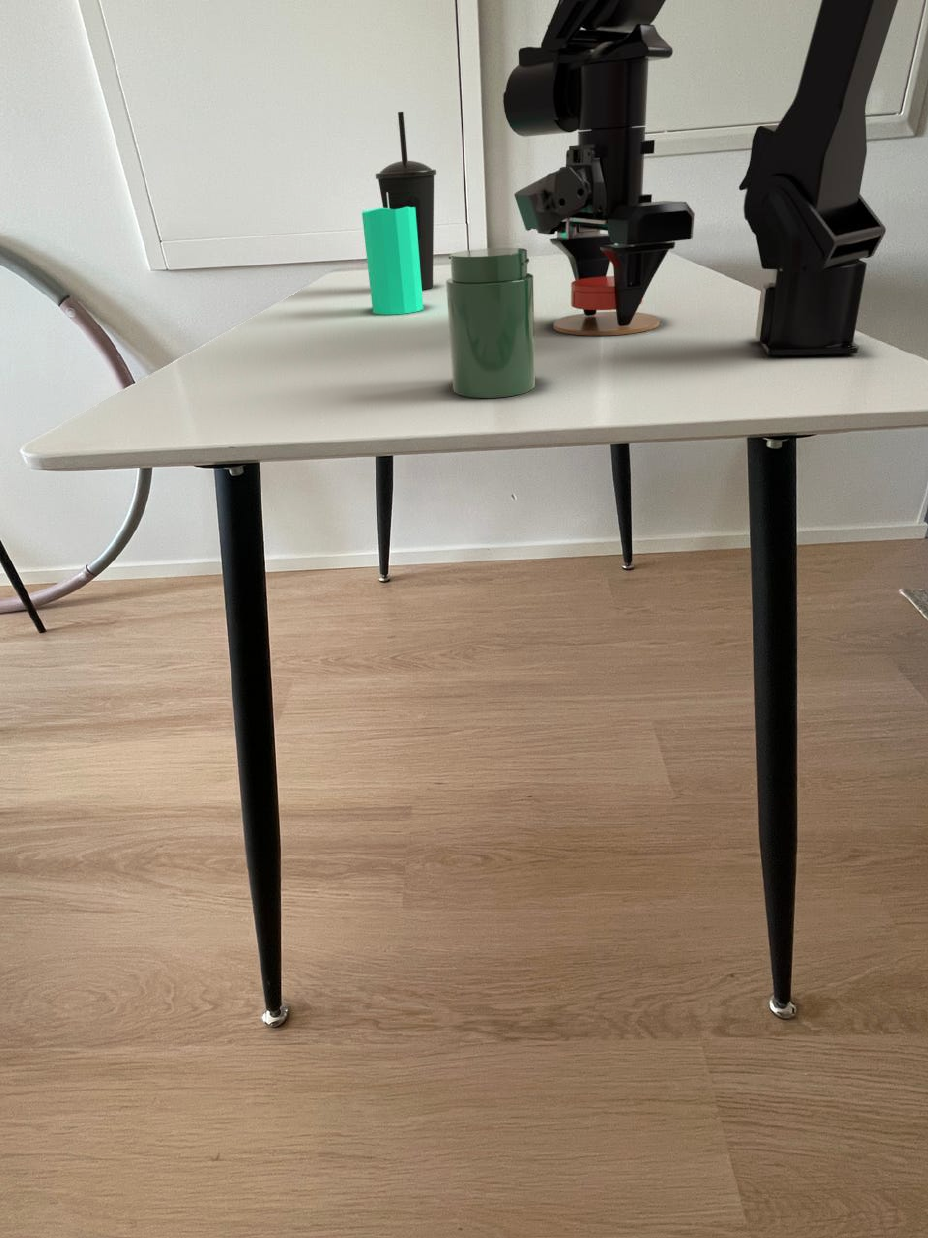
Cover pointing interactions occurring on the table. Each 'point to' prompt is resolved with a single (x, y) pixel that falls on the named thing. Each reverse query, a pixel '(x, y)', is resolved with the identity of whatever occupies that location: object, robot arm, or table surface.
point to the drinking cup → (412, 200)
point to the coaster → (604, 324)
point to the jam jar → (491, 322)
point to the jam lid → (593, 293)
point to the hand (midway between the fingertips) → (606, 320)
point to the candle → (393, 260)
